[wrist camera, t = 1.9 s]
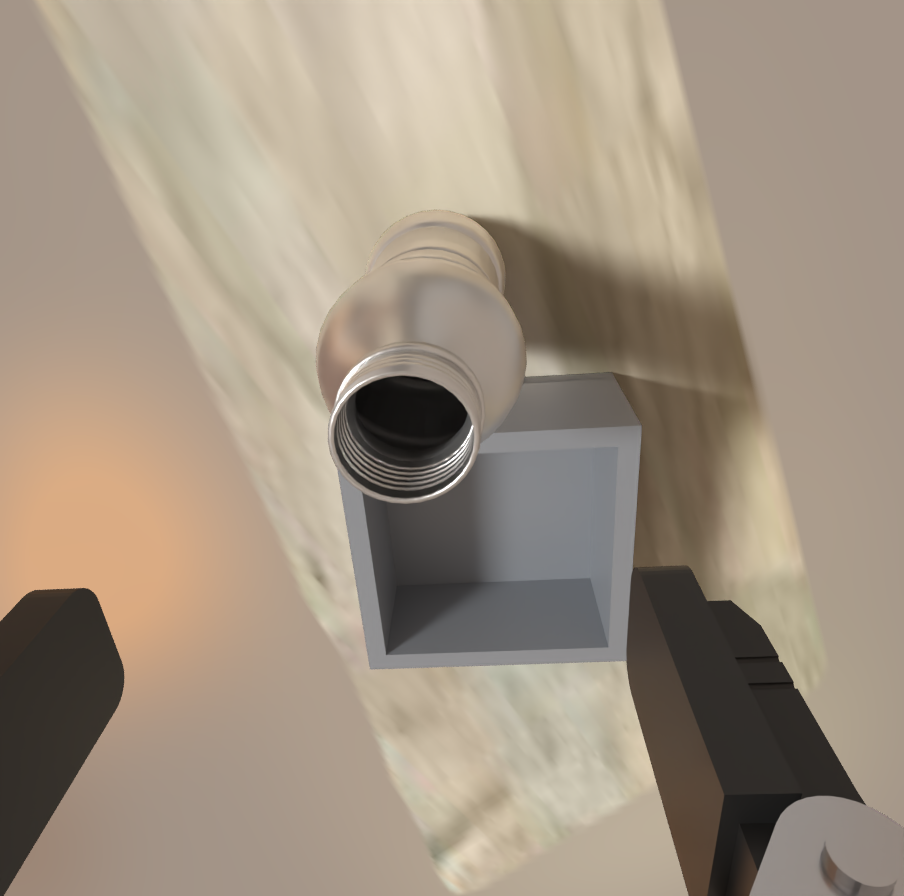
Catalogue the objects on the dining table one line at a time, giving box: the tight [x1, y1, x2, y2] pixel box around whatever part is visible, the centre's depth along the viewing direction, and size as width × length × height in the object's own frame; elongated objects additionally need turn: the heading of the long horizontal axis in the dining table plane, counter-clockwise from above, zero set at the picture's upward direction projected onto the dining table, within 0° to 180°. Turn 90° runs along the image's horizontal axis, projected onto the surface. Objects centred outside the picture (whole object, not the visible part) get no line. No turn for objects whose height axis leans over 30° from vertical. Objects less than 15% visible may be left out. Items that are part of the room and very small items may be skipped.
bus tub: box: [337, 372, 642, 669], centre depth 36 cm, size 14×14×7 cm
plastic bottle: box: [316, 210, 527, 504], centre depth 25 cm, size 6×7×20 cm
